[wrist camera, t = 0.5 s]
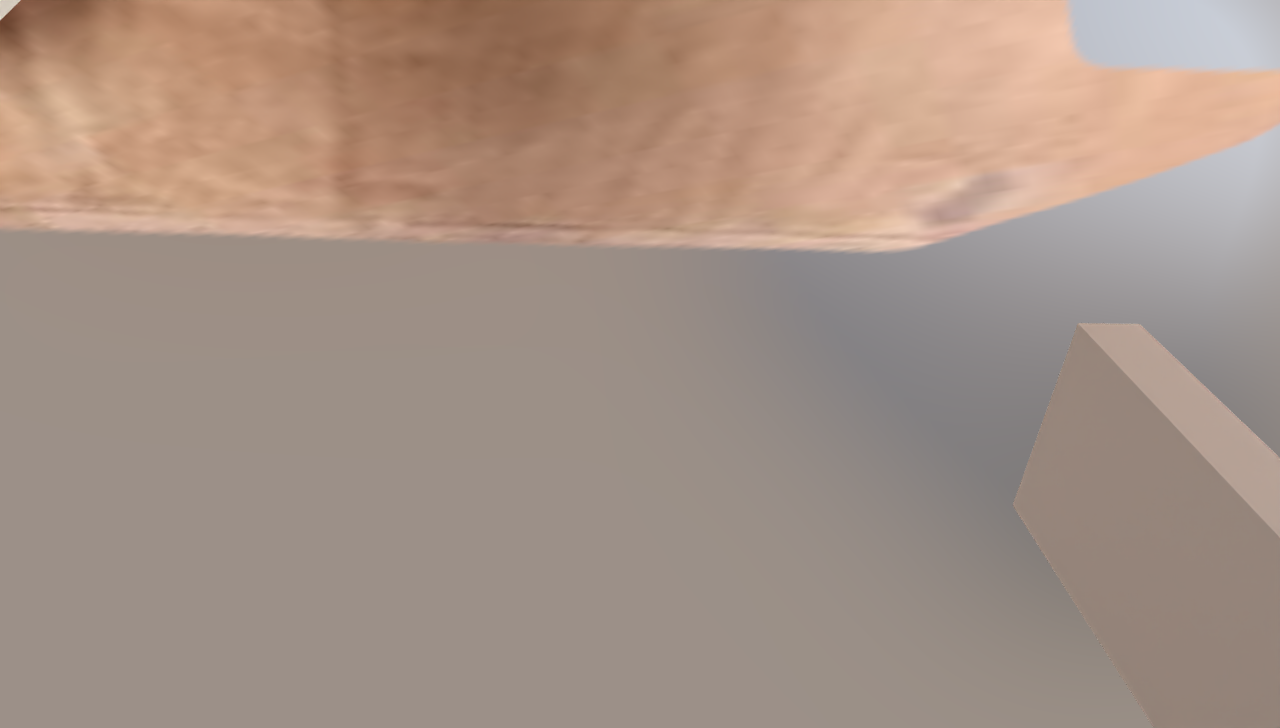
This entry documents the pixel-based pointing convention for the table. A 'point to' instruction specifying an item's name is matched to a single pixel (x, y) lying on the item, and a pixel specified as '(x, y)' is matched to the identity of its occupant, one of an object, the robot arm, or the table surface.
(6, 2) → the bowl
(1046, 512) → the robot arm
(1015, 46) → the table surface
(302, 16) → the table surface
